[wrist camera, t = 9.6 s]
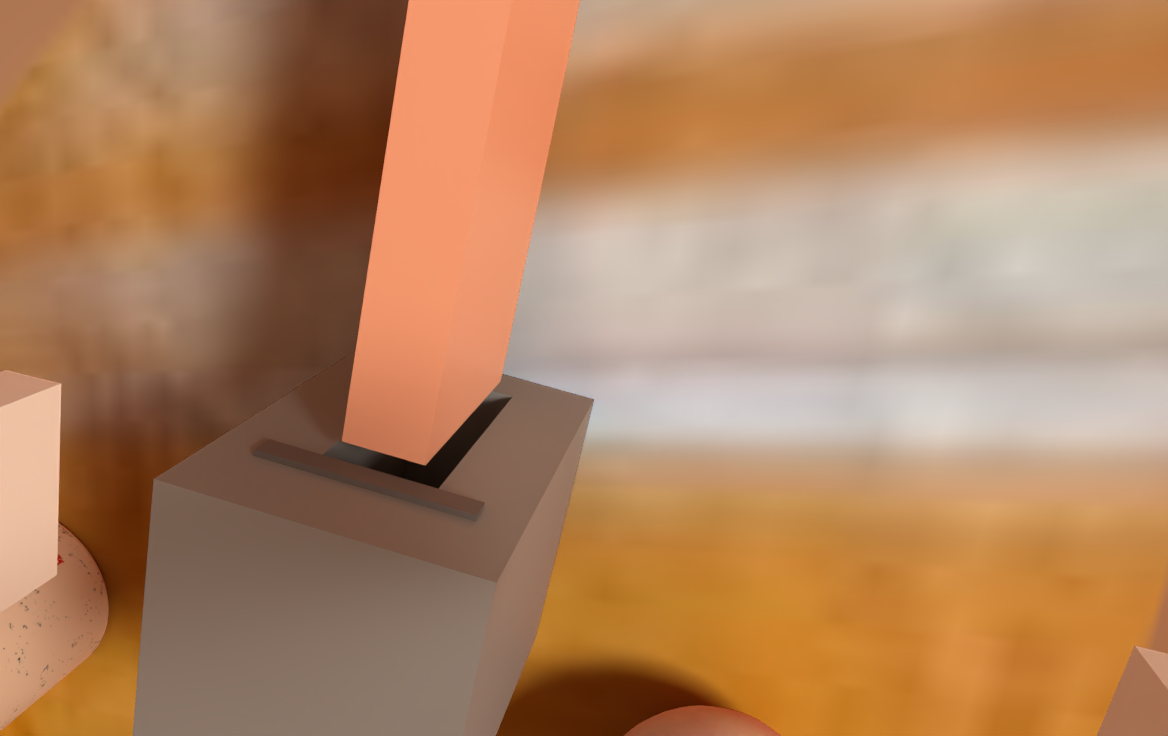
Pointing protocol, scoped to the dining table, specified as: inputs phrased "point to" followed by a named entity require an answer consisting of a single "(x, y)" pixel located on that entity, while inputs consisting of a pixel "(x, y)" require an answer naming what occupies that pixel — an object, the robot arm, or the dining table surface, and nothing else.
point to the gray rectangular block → (353, 570)
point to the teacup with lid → (51, 628)
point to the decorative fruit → (701, 723)
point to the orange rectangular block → (454, 215)
